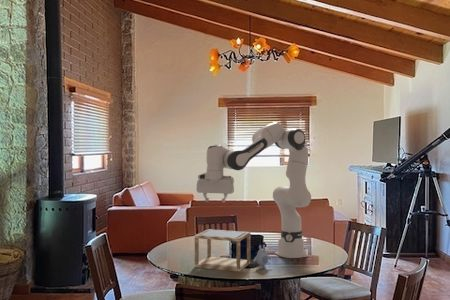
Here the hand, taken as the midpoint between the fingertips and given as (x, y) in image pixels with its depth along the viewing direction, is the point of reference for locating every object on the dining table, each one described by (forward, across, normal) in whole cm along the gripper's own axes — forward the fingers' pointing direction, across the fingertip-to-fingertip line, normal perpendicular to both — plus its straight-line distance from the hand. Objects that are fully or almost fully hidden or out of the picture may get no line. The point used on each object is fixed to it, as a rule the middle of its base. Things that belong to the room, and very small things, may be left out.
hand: (215, 201), depth 244 cm
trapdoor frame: (+33, -4, +1) cm, 33 cm away
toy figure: (+33, -25, -1) cm, 42 cm away
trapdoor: (+20, -4, +1) cm, 20 cm away
